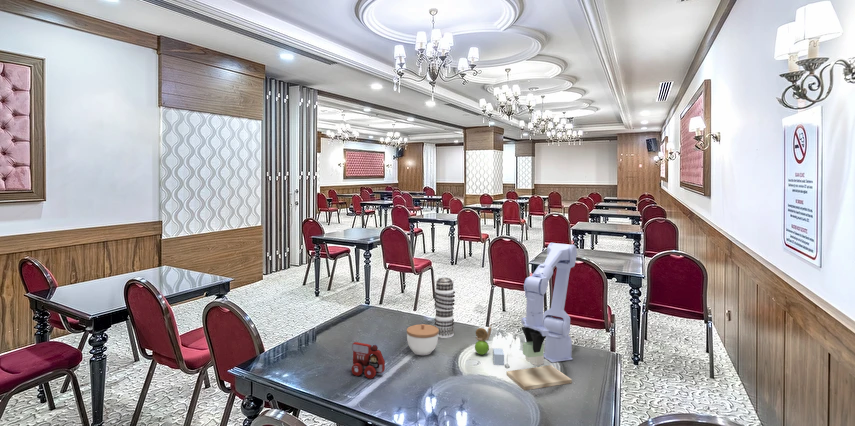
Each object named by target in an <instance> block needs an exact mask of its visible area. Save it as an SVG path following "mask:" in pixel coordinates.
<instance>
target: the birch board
mask: <svg viewBox="0 0 855 426" xmlns="http://www.w3.org/2000/svg"><path fill="white" fill-rule="evenodd" d="M505 373H506V374H505V375H506V376H507V377H508V378H510V380H511V381H513V382H514V383H515V384H516V385H518V386H519V387H520V388H521V389H522V390H523V391H528V390H529V391H530V390H535V389H542V388H549V387H555V386H561V385H567V384H568V385H569V384H572V383H573V379H572V378H570V377H569V376H567V375H566V374H564V373H563V372H562V371H560V370H558V369H557V368H556V367H554V366H553V365H552V364H550V365H544V366H535V367H528V368H522V369H514V370H508V371H506V372H505Z"/></svg>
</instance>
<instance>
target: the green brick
mask: <svg viewBox="0 0 855 426" xmlns="http://www.w3.org/2000/svg"><path fill="white" fill-rule="evenodd" d="M544 352H545V343H543V344H542V347H541V350H540V352H536V353H535V352H534V350H533V341H532V342H525V341H524V342H522V355H524V357H525V356H527V357H537V356H543V353H544Z"/></svg>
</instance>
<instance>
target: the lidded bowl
mask: <svg viewBox="0 0 855 426" xmlns="http://www.w3.org/2000/svg"><path fill="white" fill-rule="evenodd" d="M438 333H439V329H438V328H437V327H435V325H432V324H424V323H421V324H414V325H411V326H408V327H407V328H406V340H407V345H408V347H409V348H410V350H411V351H412V352H413V354H414V355H418V356H428V355H431V354H432V352H433V351H434V350H435V349H436V347H437V345H438V342H439V337H438Z"/></svg>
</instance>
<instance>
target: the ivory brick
mask: <svg viewBox="0 0 855 426" xmlns="http://www.w3.org/2000/svg"><path fill="white" fill-rule="evenodd" d="M524 357H525V359H526V361H527V360H528V361H527V362H529V361H530V362H529V363H530V364H533V365H535V366H536V365H537V366H540V365H544V359H545V358H544V354H543V356H537V357H527V356H525V355H524Z"/></svg>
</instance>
